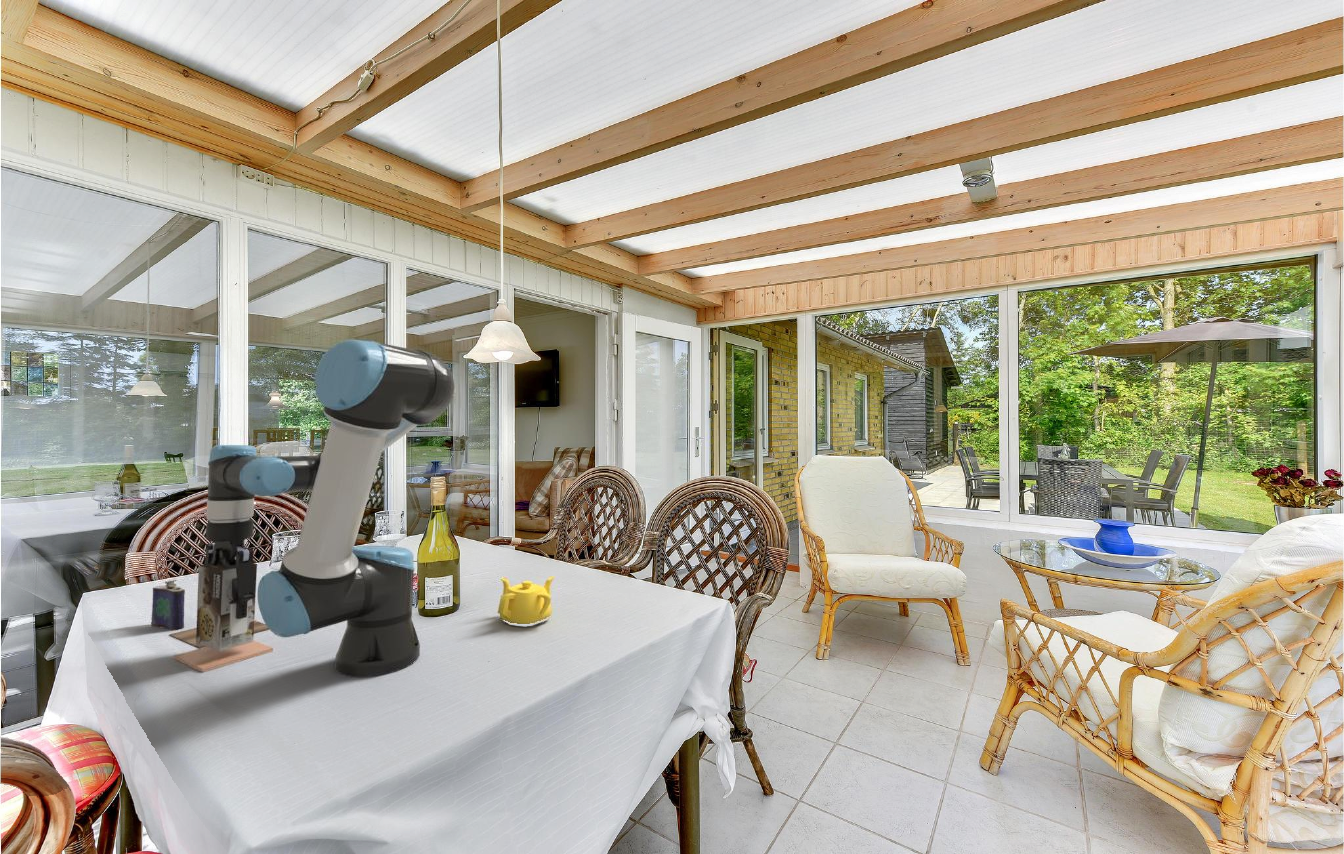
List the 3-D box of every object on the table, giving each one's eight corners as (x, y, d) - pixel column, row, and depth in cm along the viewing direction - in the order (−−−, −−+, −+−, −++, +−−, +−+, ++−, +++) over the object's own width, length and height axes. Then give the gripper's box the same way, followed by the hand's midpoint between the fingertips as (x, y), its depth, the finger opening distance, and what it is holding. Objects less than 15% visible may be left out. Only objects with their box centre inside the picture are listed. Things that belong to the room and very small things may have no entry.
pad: (273, 650, 113) (273, 647, 113) (202, 672, 102) (202, 668, 102) (243, 639, 118) (243, 636, 118) (173, 658, 107) (173, 655, 108)
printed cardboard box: (255, 641, 111) (258, 563, 111) (218, 652, 105) (222, 570, 106) (230, 633, 115) (234, 557, 115) (193, 643, 109) (197, 564, 109)
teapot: (553, 611, 143) (554, 574, 143) (552, 629, 130) (553, 588, 130) (499, 613, 140) (501, 575, 140) (492, 631, 127) (494, 589, 127)
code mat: (274, 627, 125) (274, 626, 125) (199, 648, 113) (199, 646, 113) (243, 617, 132) (243, 616, 132) (169, 635, 119) (169, 634, 119)
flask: (148, 625, 125) (150, 579, 125) (163, 621, 127) (166, 576, 128) (173, 631, 122) (176, 583, 122) (188, 627, 124) (191, 580, 125)
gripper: (279, 522, 109) (275, 633, 108) (225, 512, 119) (221, 614, 119) (236, 527, 102) (231, 646, 102) (182, 516, 112) (177, 624, 112)
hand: (225, 629), depth 110 cm, fingers closed on printed cardboard box, 9 cm apart
